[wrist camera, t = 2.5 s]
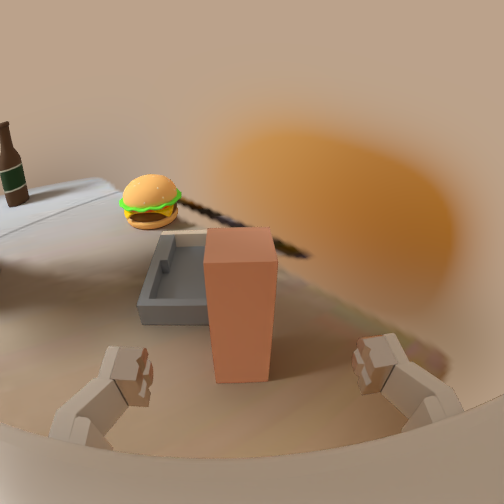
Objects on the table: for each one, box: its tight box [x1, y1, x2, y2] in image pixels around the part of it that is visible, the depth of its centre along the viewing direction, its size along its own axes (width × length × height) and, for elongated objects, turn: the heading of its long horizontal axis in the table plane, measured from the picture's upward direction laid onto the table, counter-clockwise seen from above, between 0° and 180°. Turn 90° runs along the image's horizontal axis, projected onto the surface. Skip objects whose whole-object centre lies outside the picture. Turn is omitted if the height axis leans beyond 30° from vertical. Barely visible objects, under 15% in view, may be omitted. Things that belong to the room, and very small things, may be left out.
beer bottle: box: [0, 121, 29, 207], centre depth 64 cm, size 8×8×24 cm
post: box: [203, 227, 278, 383], centre depth 27 cm, size 5×5×14 cm
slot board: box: [137, 230, 209, 325], centre depth 41 cm, size 17×10×3 cm, turn 4°
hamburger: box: [119, 174, 181, 229], centre depth 56 cm, size 12×12×9 cm
